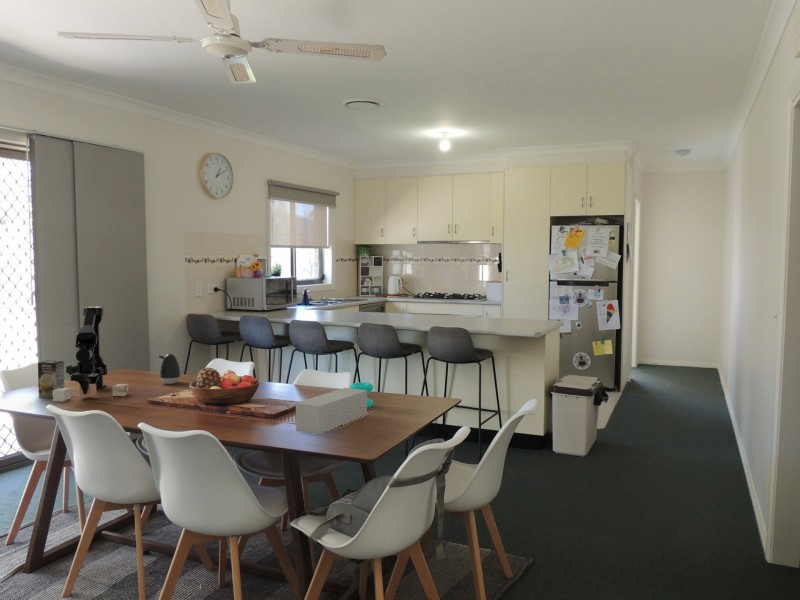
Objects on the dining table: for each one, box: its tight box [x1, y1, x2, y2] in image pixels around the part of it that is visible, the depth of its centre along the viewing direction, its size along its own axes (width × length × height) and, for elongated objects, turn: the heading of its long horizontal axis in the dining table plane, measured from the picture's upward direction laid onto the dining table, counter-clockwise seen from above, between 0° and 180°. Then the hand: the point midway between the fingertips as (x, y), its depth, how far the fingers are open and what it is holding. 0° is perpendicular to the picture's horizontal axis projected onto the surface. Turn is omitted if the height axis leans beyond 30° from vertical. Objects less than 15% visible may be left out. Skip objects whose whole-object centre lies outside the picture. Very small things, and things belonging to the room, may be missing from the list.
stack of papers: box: [295, 387, 368, 435], centre depth 245 cm, size 32×11×11 cm, turn 150°
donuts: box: [349, 381, 374, 408], centre depth 272 cm, size 10×10×10 cm
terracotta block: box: [79, 384, 97, 398], centre depth 287 cm, size 5×5×5 cm
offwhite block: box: [52, 387, 71, 402], centre depth 283 cm, size 5×5×5 cm
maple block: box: [112, 383, 129, 397], centre depth 293 cm, size 5×5×5 cm
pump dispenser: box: [158, 353, 182, 385], centre depth 321 cm, size 10×10×15 cm
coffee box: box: [37, 359, 65, 398], centre depth 291 cm, size 9×6×16 cm
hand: (88, 392), depth 287 cm, fingers closed on terracotta block, 5 cm apart
